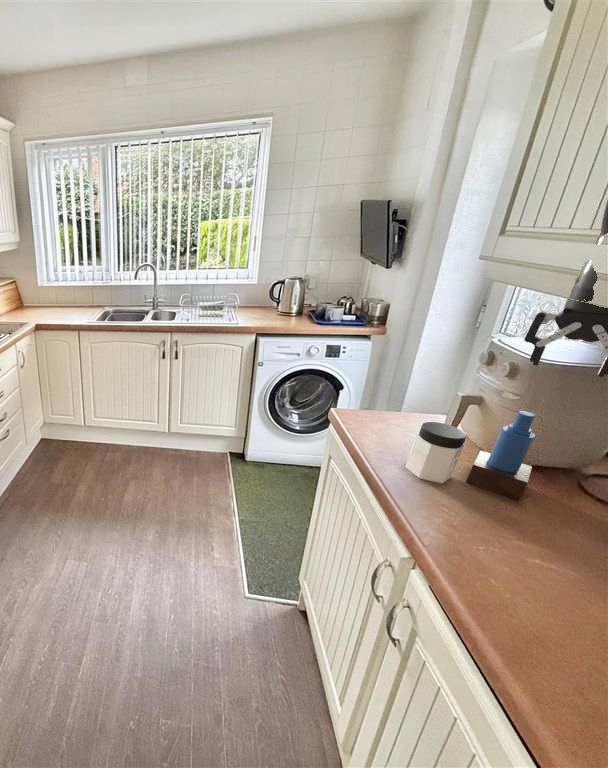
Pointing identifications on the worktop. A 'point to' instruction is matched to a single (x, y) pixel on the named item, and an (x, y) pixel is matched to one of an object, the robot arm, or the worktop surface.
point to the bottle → (513, 443)
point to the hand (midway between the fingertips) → (566, 369)
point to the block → (498, 478)
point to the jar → (436, 451)
